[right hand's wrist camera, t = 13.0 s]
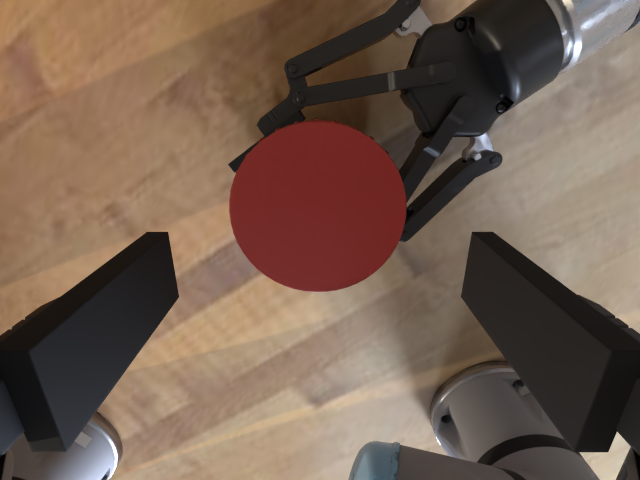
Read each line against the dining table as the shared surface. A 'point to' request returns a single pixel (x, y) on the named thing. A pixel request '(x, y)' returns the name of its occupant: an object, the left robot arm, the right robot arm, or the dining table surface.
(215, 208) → the dining table surface
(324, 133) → the lid
